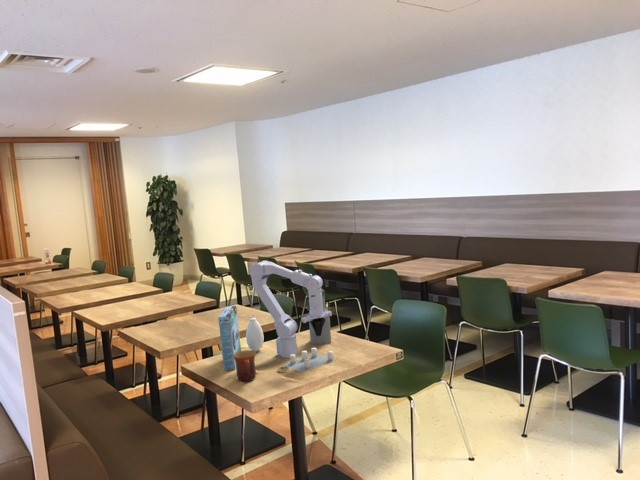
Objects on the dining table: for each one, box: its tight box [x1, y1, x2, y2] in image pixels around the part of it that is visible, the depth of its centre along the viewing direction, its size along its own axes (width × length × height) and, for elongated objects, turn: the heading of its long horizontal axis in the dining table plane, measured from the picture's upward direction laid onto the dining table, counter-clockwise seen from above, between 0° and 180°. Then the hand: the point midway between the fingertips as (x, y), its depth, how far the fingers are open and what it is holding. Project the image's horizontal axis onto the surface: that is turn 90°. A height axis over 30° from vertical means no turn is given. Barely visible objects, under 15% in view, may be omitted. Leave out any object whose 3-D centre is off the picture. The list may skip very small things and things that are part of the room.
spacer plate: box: [282, 347, 336, 373], centre depth 215 cm, size 13×18×4 cm
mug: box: [233, 349, 257, 383], centre depth 202 cm, size 12×9×10 cm
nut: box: [276, 365, 290, 374], centre depth 208 cm, size 5×4×2 cm
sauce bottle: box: [245, 312, 265, 352], centre depth 238 cm, size 8×8×18 cm
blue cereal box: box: [218, 305, 242, 371], centre depth 224 cm, size 19×5×23 cm, turn 0°
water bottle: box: [306, 285, 332, 345], centre depth 242 cm, size 10×10×28 cm
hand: (318, 335), depth 221 cm, fingers closed
